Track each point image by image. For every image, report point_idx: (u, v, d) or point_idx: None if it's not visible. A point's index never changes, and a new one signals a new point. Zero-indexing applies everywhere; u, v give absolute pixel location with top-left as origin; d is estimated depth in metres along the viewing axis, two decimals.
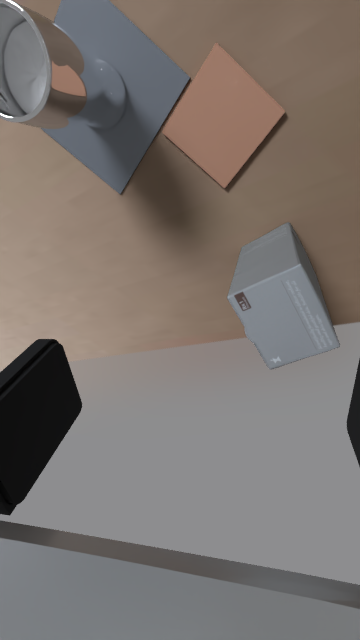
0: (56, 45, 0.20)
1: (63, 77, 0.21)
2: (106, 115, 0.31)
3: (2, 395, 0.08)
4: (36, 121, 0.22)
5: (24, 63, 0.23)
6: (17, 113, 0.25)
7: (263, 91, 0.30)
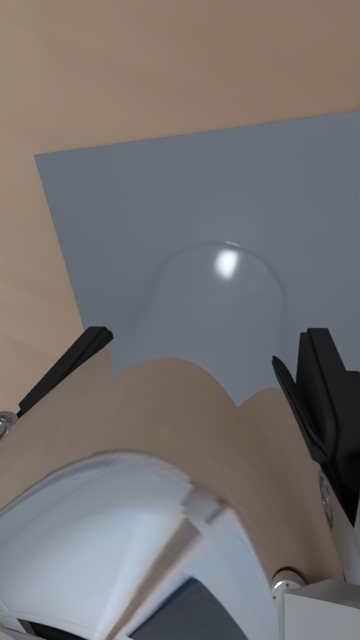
0: None
1: None
2: None
3: None
4: None
5: None
6: None
7: None
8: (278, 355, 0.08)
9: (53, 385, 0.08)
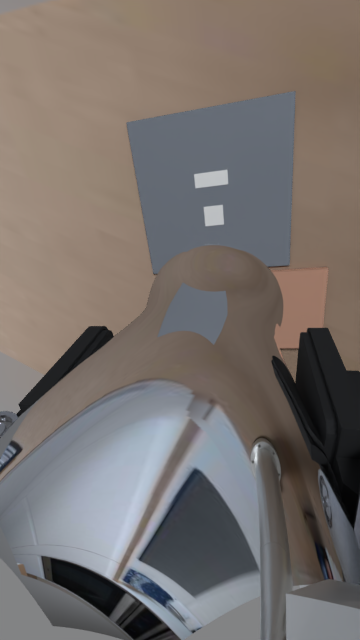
0: None
1: None
2: None
3: None
4: None
5: None
6: None
7: (321, 325, 0.32)
8: (277, 354, 0.08)
9: (53, 385, 0.08)
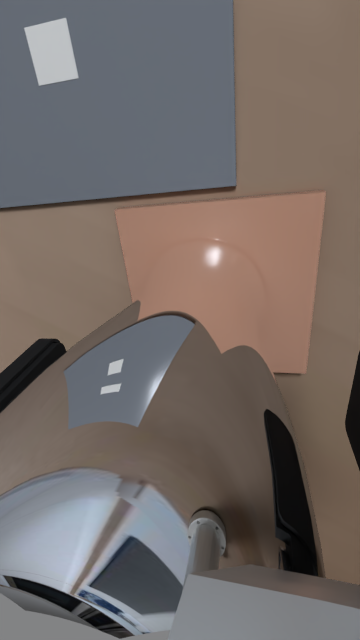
0: None
1: None
2: None
3: (4, 394, 0.08)
4: None
5: None
6: None
7: (308, 327, 0.15)
8: (251, 332, 0.09)
9: None
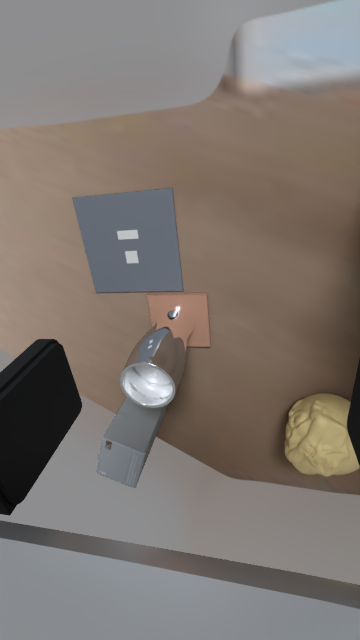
0: None
1: None
2: None
3: (2, 395, 0.08)
4: None
5: None
6: None
7: (208, 331, 0.47)
8: (180, 332, 0.41)
9: None
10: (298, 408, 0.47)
